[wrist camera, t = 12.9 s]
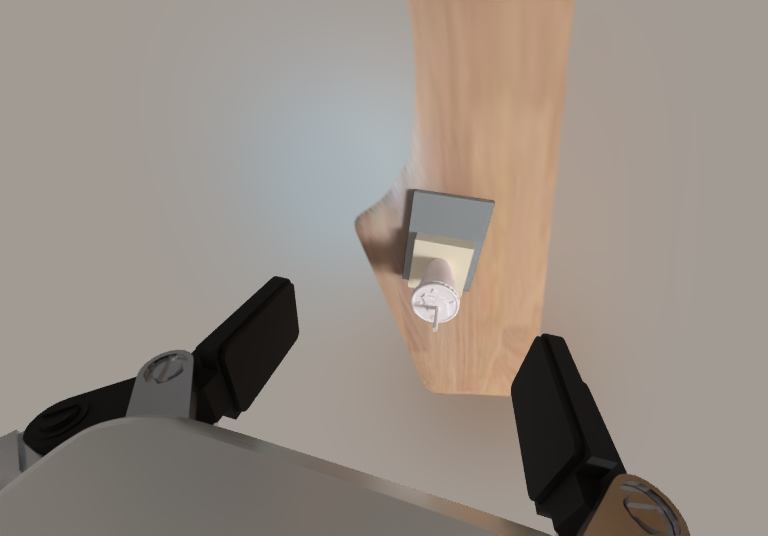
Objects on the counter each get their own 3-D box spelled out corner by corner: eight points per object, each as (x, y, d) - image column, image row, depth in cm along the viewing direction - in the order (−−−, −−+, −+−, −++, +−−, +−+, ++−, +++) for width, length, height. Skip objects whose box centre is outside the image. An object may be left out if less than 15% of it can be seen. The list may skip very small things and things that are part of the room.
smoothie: (440, 292, 47) (433, 354, 35) (411, 268, 46) (394, 324, 34) (468, 268, 43) (471, 329, 32) (438, 242, 42) (429, 294, 31)
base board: (415, 189, 44) (411, 196, 40) (493, 200, 42) (497, 209, 38) (403, 274, 52) (399, 287, 48) (468, 287, 50) (469, 301, 46)
